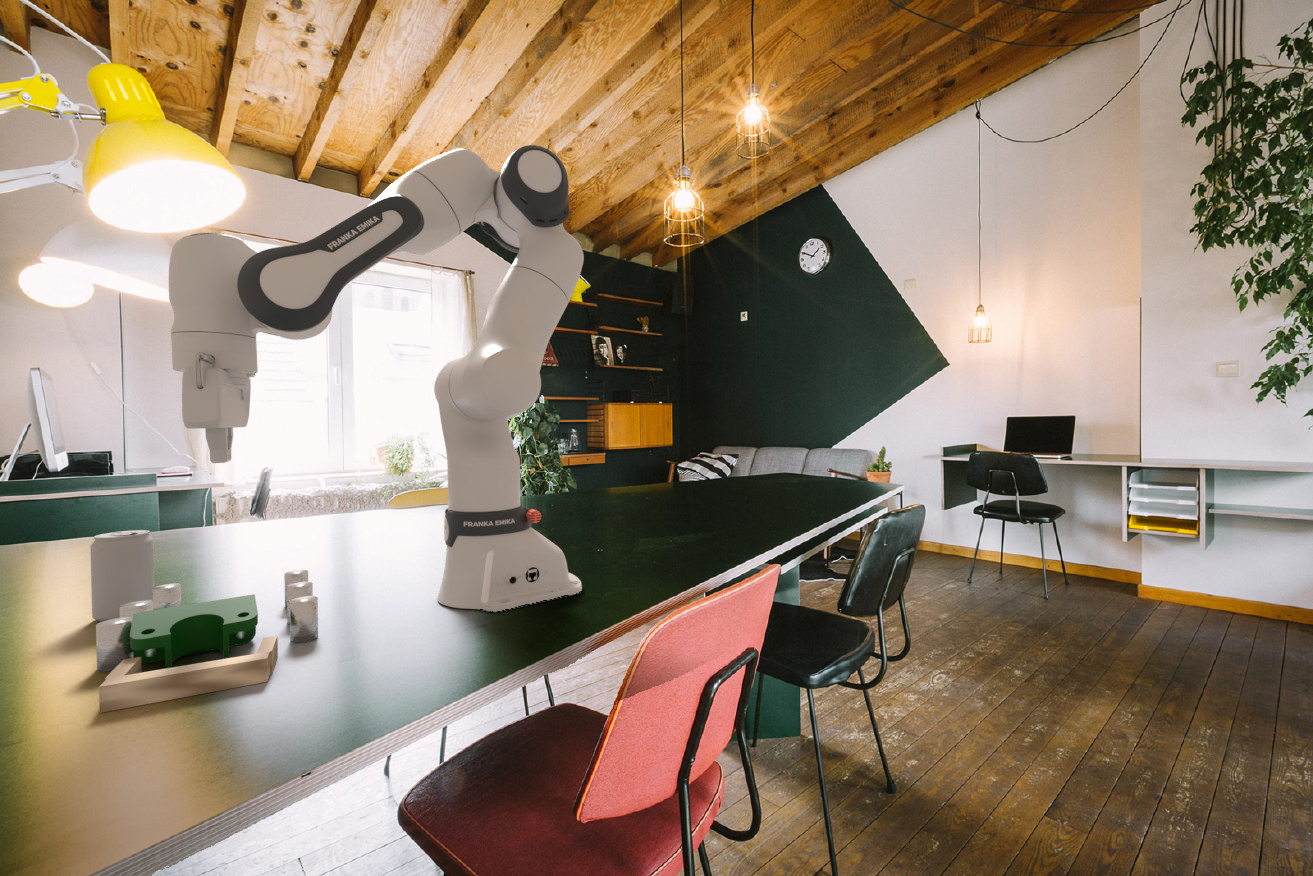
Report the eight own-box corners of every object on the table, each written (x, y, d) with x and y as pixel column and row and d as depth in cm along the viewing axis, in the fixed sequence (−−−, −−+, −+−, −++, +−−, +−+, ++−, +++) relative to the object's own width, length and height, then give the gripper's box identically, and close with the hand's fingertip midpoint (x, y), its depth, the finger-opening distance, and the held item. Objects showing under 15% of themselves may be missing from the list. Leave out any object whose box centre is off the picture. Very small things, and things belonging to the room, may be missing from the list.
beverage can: (115, 626, 74) (113, 538, 73) (79, 623, 75) (77, 536, 75) (166, 610, 80) (165, 529, 80) (132, 608, 81) (130, 528, 81)
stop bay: (277, 656, 64) (277, 635, 64) (269, 681, 58) (269, 657, 58) (124, 682, 57) (123, 659, 57) (96, 713, 51) (96, 687, 51)
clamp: (156, 709, 61) (107, 651, 57) (159, 677, 65) (113, 622, 61) (277, 645, 67) (240, 590, 63) (271, 621, 71) (237, 567, 67)
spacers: (324, 598, 85) (323, 567, 85) (317, 640, 69) (316, 601, 69) (146, 622, 75) (146, 586, 75) (88, 677, 59) (87, 631, 58)
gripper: (231, 350, 65) (236, 466, 65) (256, 366, 83) (260, 457, 83) (161, 348, 62) (167, 469, 62) (203, 365, 80) (208, 459, 80)
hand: (221, 462), depth 73 cm, fingers closed
